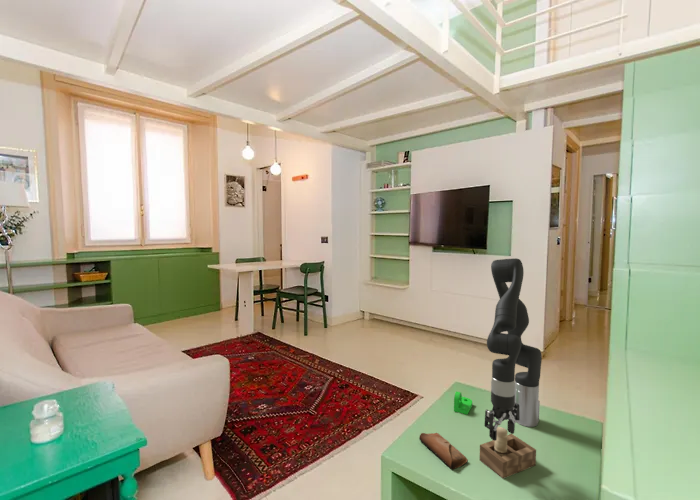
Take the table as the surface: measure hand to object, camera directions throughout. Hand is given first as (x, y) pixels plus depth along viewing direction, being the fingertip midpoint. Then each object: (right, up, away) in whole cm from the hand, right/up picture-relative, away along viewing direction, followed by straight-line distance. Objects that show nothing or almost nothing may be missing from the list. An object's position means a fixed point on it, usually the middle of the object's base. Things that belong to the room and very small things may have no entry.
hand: (502, 435), depth 115 cm
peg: (0, -10, +1) cm, 10 cm away
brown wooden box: (+3, -11, +2) cm, 12 cm away
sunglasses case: (-17, -11, +9) cm, 22 cm away
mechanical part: (+1, -9, +40) cm, 41 cm away
